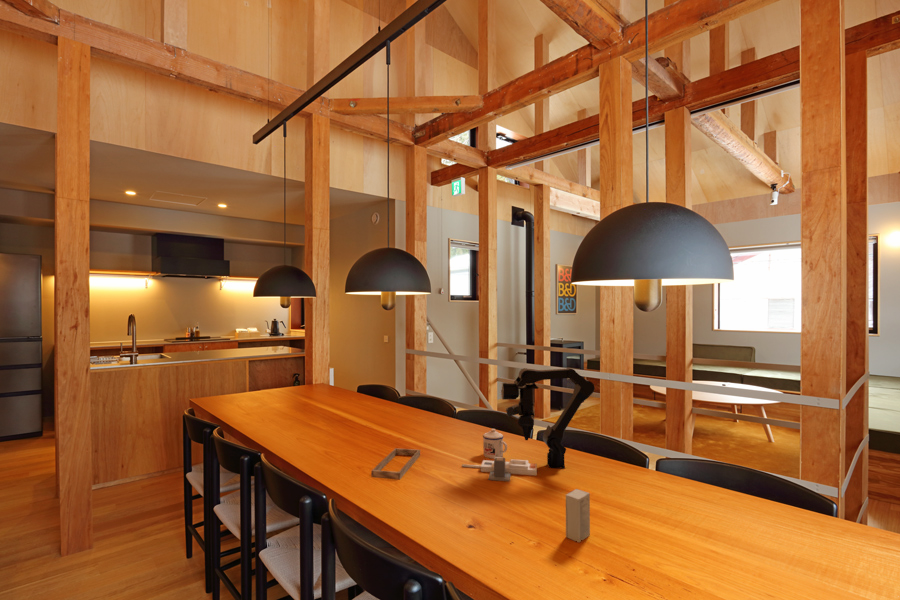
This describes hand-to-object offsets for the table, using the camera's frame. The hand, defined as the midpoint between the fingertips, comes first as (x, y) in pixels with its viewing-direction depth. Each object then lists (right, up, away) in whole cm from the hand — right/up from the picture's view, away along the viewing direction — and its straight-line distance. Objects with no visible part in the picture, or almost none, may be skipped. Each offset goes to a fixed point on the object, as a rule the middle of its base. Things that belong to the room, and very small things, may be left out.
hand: (526, 437), depth 183 cm
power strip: (-12, -12, -4) cm, 18 cm away
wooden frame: (-54, -12, +1) cm, 55 cm away
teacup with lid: (-12, -13, +12) cm, 21 cm away
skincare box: (+5, -11, -57) cm, 59 cm away
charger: (-13, -11, -12) cm, 21 cm away
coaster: (-13, -12, -12) cm, 21 cm away
